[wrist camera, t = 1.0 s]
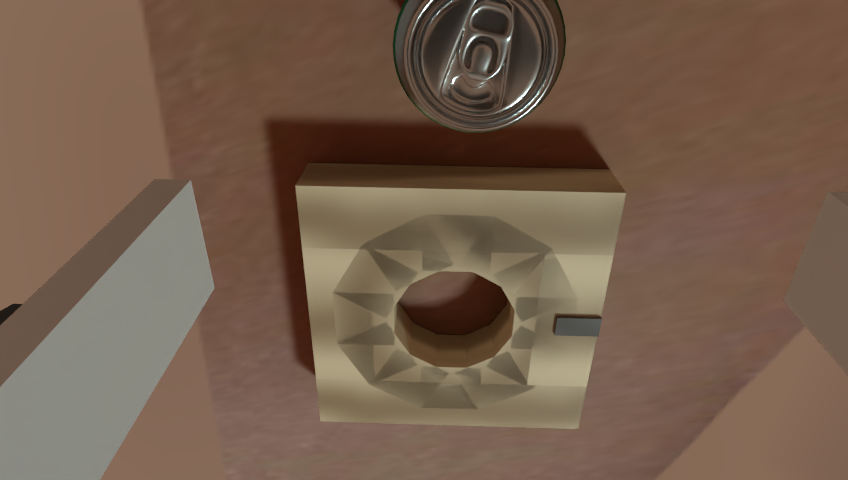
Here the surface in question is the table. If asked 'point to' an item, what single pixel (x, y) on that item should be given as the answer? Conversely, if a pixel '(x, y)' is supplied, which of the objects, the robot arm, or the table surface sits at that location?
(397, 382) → the hub block
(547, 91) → the soda can
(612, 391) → the table surface
